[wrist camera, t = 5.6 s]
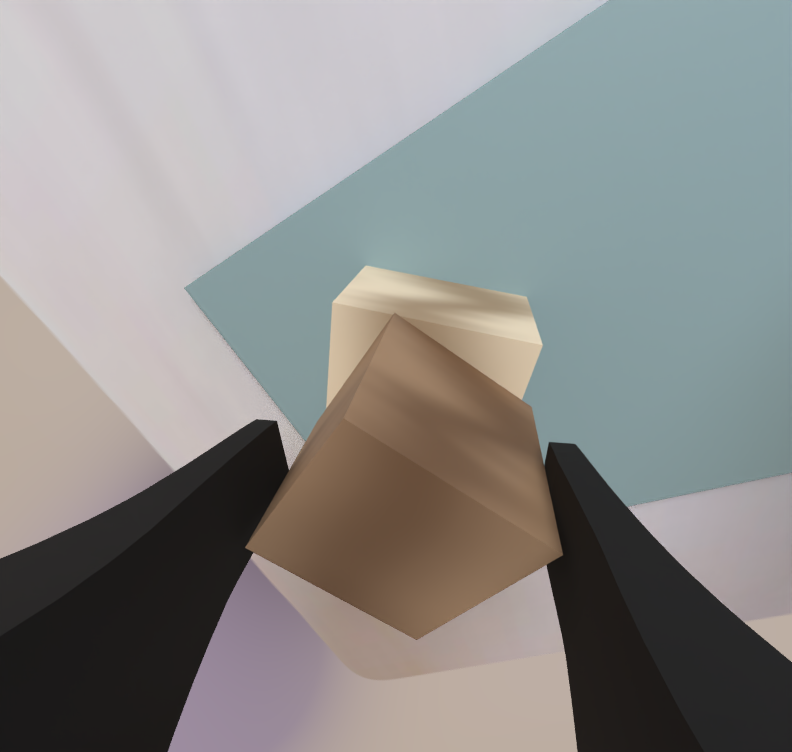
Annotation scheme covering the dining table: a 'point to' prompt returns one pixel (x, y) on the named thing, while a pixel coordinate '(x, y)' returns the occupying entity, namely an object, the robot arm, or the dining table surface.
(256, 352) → the mat
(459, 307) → the maple block
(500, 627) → the dining table surface
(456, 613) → the walnut cube
